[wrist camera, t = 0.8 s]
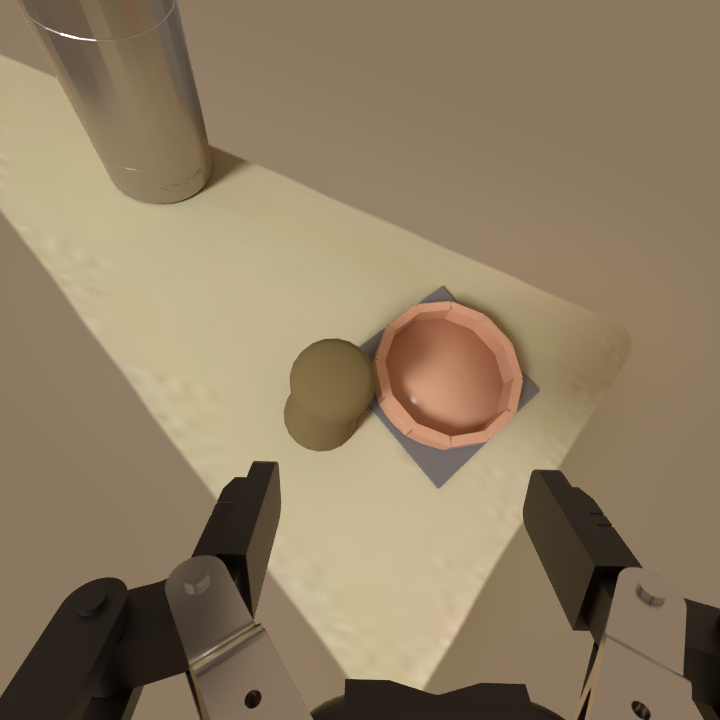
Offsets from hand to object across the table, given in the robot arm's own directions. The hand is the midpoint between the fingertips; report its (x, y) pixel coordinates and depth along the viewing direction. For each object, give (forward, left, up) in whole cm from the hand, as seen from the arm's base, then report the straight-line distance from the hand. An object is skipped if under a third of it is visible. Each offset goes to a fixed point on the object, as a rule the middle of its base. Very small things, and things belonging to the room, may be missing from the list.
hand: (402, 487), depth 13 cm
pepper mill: (-6, +3, -20) cm, 21 cm away
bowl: (-2, +13, -19) cm, 24 cm away
